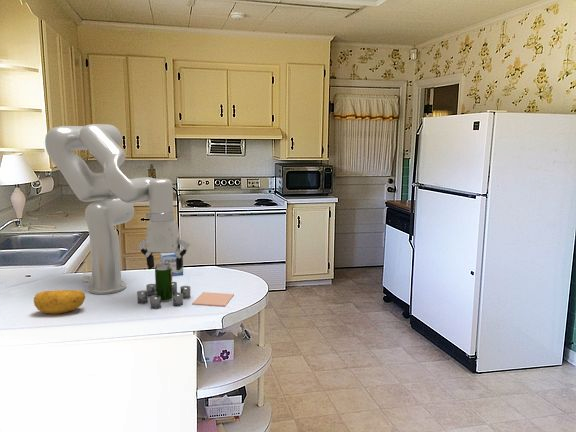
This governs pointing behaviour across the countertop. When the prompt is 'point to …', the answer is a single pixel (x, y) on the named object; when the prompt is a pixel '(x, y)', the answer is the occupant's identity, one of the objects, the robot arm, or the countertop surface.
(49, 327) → the countertop surface
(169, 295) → the beer can
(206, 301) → the terracotta tile
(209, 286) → the countertop surface
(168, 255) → the medicine box
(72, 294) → the potato
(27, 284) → the countertop surface
